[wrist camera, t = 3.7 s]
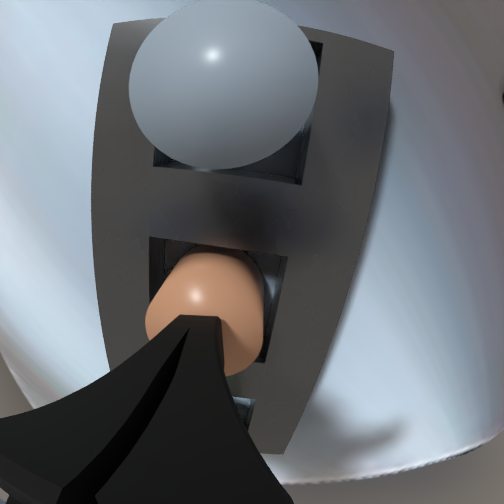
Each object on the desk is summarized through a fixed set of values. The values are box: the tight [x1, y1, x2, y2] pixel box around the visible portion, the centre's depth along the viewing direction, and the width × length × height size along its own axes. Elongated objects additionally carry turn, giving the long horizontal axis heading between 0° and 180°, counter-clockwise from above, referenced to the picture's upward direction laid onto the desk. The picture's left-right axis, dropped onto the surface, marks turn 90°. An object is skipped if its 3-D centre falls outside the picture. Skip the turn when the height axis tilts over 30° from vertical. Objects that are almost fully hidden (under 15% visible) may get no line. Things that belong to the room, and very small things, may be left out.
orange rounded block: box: [145, 244, 264, 376], centre depth 11 cm, size 4×4×4 cm
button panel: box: [91, 18, 394, 454], centre depth 12 cm, size 21×10×2 cm, turn 172°
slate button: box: [129, 0, 318, 169], centre depth 7 cm, size 4×4×4 cm
